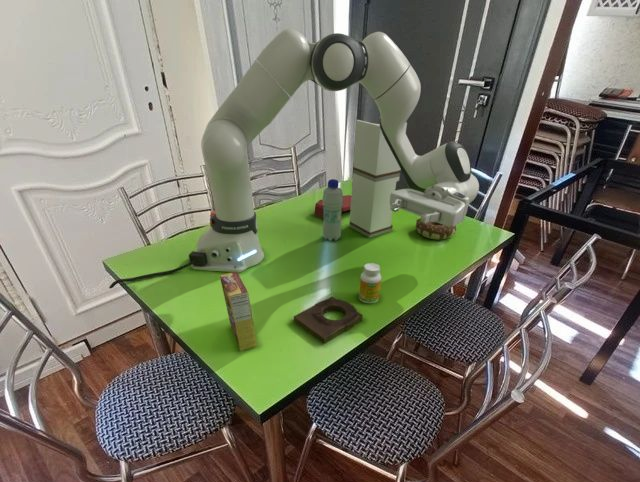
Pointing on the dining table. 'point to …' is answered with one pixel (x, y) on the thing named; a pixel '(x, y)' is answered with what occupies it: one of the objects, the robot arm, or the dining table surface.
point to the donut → (434, 230)
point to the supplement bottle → (370, 283)
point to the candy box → (239, 310)
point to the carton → (346, 206)
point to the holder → (325, 327)
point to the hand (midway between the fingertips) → (407, 213)
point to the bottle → (332, 210)
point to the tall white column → (372, 181)
